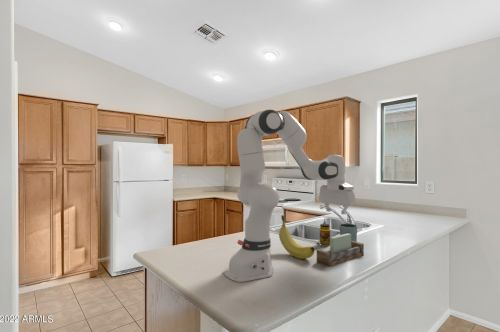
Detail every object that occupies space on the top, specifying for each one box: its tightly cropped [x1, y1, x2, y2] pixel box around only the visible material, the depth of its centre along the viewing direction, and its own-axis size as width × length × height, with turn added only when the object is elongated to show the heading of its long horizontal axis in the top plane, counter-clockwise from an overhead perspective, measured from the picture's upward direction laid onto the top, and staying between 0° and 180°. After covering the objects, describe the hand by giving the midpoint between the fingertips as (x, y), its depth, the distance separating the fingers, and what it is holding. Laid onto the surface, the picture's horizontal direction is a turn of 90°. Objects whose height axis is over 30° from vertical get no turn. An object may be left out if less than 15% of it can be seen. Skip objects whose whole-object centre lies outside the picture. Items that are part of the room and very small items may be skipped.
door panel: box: [329, 233, 351, 254], centre depth 136 cm, size 14×2×10 cm, turn 125°
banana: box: [278, 214, 315, 260], centre depth 140 cm, size 23×6×20 cm, turn 39°
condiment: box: [319, 223, 331, 247], centre depth 161 cm, size 7×8×12 cm
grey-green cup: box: [338, 223, 358, 242], centre depth 158 cm, size 10×10×12 cm
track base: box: [316, 241, 365, 267], centre depth 136 cm, size 28×7×6 cm, turn 125°
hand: (335, 212), depth 139 cm, fingers open, 8 cm apart
